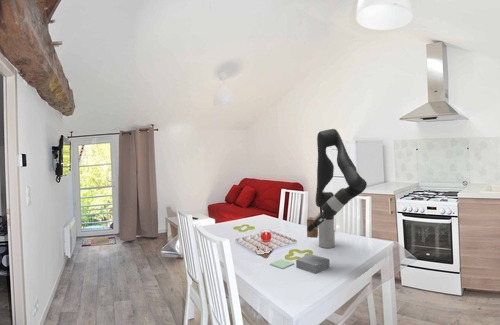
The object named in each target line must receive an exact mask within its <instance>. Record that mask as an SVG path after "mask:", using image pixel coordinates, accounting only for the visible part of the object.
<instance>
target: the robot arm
mask: <svg viewBox="0 0 500 325" xmlns="http://www.w3.org/2000/svg"><path fill="white" fill-rule="evenodd" d="M316 138H317V139H316V141H317V142H316V144H317V166H316V167H317V170H316V173H317V174H316V176H317V177H316V191H315V205H316V206H317V207H318V208H320V209H321V211H320V212H318V214H317V215H316V216H315V217H314V218H315V221H314V222H313V223H312V224H311V225H310V226H309V227H308V228H307V227H306V231H307V230H308V231H309V232H311V231H312V230H313V229H314V228H315V227H317V226H318V246H319V247H320V248H323V249H331V248H335V246H336V245H335V243H336V242H335V240H336V236H335V235H336V233H335V216H336V215H337V214H338V213H339V212H340V211H341V210H342V209H343V208H344V207H345V206H346V205H347V204H348V203H349V202H350V201H351V200H352V199H355V198H356V197H357V196H359V195H361V194H362V193H363V192H364V191H365V190H366V189H367V186H368V185H367V181H366V180H365V179H364V178H363V177H361V175H360V174H359V173H358V171H357V167H356V166H355V164H354V163H353V160H352V159H351V157H350V156H349V154H348V152H347V149H346V147H345V145H344V141H343V140H342V137H341V135H340V133H339V132H338V130H337V129H335V128H330V129H325V130H320V131H319V132H318V133H317V137H316ZM330 147H336V148H337V149H336V150H337V154H336V155H337V157H336V164H337V166H338V168H339V170H340V172H341V173H342V174H343V177H344V179H345V183H346V184H347V187H344V188H343V187H342V188H340V189H339V190H338V191H336V193H333V192H331V191H324V189H325V188H326V186H328V184H329V183H330V182H331V181H332V179H333V178H334V173H335V172H334V170H335V168H334V167H335V165H334V164H333V161H332V160H331V159H330V158H329V156H328V155H327V154H328V153H327V149H328V148H330ZM315 223H317V225H316V224H315Z"/></svg>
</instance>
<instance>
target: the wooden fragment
mask: <svg viewBox="0 0 500 325" xmlns="http://www.w3.org/2000/svg"><path fill="white" fill-rule="evenodd" d="M272 252H273V250H272V251H271V252H269V253H264V254H257V253H256V255H257V256H259V257H262V258H263V259H268V258H269V256H270V255H271V253H272Z"/></svg>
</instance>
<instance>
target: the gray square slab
mask: <svg viewBox="0 0 500 325" xmlns="http://www.w3.org/2000/svg"><path fill="white" fill-rule="evenodd" d="M330 265H331V264H330V258H326V257H324V256H323V257H322V256H319V255H315V254H312V253H309V254H307V255H304V256H302V257H299V258H296V260H295V266H296V268H298V269H300V270H303V271H306V272H309V273H312V274H314V275H315V274H318V273H320V272H322V271H324V270H326V269H328V268H330Z"/></svg>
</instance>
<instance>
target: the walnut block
mask: <svg viewBox="0 0 500 325" xmlns="http://www.w3.org/2000/svg"><path fill="white" fill-rule="evenodd" d="M314 221H315V217H307V218H306V238H314V239H315V238H316V239H317V238H319V225H318V226H317V227H315V228H314V229H313V230H312V231H311V232H309V231H308V230H307V228H308V227H309V226H310V225H311V224H312V223H313V222H314ZM315 224H316V225H317V223H315Z"/></svg>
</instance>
